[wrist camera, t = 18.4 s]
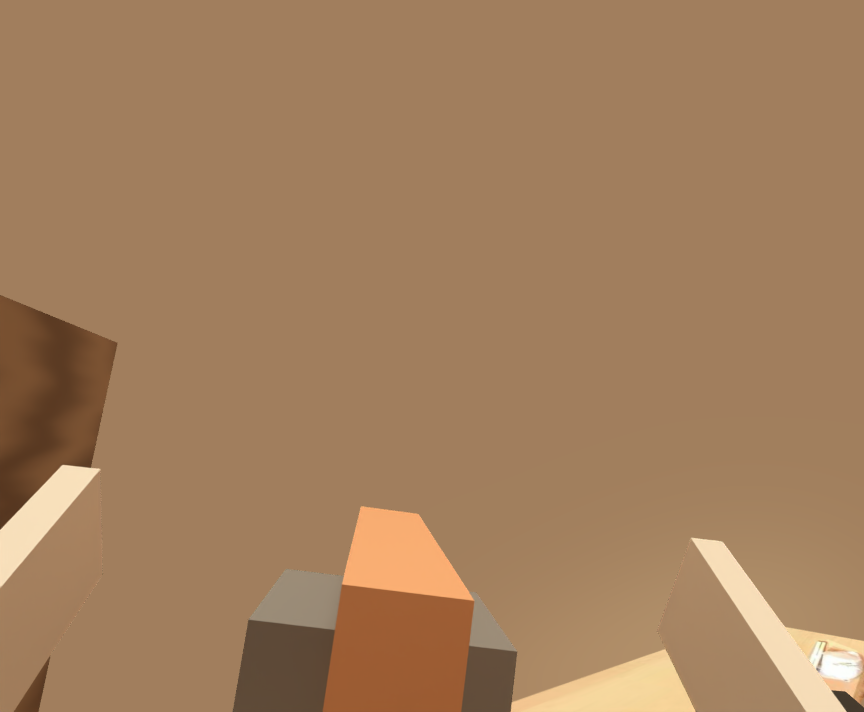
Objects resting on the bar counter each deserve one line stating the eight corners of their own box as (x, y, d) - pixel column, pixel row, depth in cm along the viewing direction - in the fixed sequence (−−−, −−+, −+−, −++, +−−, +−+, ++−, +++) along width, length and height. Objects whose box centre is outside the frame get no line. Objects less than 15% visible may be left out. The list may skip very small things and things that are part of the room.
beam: (352, 565, 44) (361, 506, 45) (410, 573, 44) (418, 513, 45) (320, 728, 19) (341, 584, 19) (457, 742, 19) (474, 600, 19)
